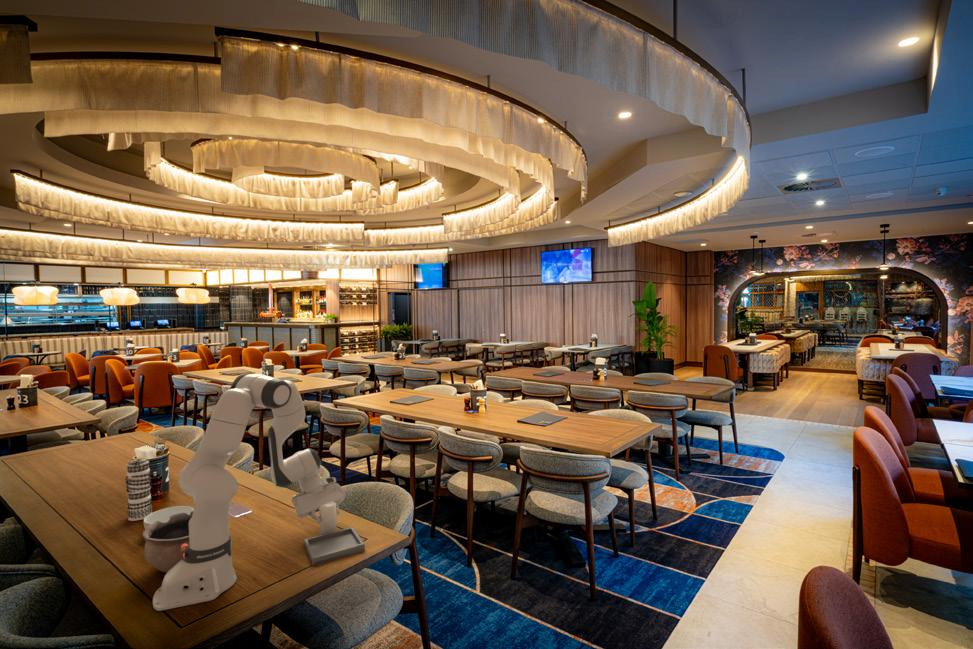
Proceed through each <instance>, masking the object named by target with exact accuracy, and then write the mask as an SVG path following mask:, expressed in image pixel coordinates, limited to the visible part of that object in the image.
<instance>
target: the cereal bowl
mask: <svg viewBox="0 0 973 649" xmlns="http://www.w3.org/2000/svg"><path fill="white" fill-rule="evenodd" d="M193 510H194V507H191V506H189V505H176V506H170V507H165V508H161V509H159V510H156V511H152V513H151V514H149V515H148V516H146V517H145V518H144V519H143V527H144V530H145V529H146V528H147V527H148V526H149V525H151V524H152V523H154V522H156V521H160V522H163V523H165V522H168V521H169V520H170V516H172V515H176V514H179V513H187V514H189V515H190V512H192V511H193Z"/></svg>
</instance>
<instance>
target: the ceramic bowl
mask: <svg viewBox="0 0 973 649" xmlns="http://www.w3.org/2000/svg"><path fill="white" fill-rule="evenodd" d="M192 515H193V511H192V512H190V515H189V514H187V513H179V514H176V515H172V516H170V520H169V521H168V522H165V523H163V522H160V521H156V522H154V523H152V524H151V525H149V526H148V527H147V528H146V529H145V528H144V530H143V532H142V537H143V539H144V541H145V543H144V550H143V551H144V557H145V560H147V562H148V563H149V564H150V565H151V566H152V567H153V568H154V569H156V570H158V571H160V572H163V573H167V572H168V571H169V570H170V569H171V568H173V567H174V566H175V565H176V564H177V563H178V562H179V561H181V560H182V551H181V546H182V545H183V544H187V545H189V520H190V519H191V518H192Z"/></svg>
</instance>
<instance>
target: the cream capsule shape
mask: <svg viewBox="0 0 973 649" xmlns="http://www.w3.org/2000/svg"><path fill="white" fill-rule="evenodd" d="M318 512H319V513H318V514H319V515H318V517H319V516H321V518H322V521H321V522H320V523H319V535H323V534H327V533H331V532H335V531H338V520H337V519H338V517H337V516H338V515H337V514H336V503H335V502H328V503H326V504H323V505H321V506H319V511H318Z"/></svg>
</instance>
